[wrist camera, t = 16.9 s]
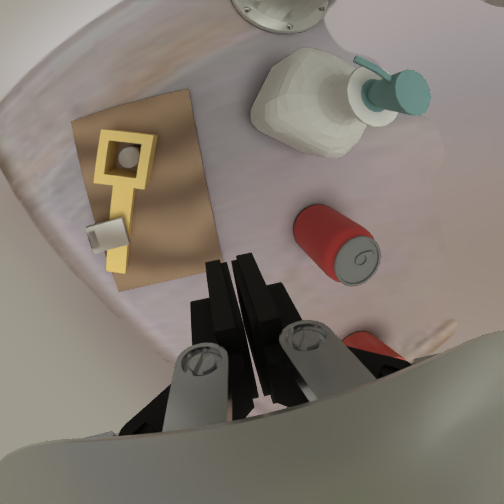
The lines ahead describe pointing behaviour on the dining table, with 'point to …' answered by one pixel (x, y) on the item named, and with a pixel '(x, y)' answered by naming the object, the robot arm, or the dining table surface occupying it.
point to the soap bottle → (332, 101)
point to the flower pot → (369, 344)
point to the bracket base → (152, 192)
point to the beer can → (337, 245)
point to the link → (123, 183)
